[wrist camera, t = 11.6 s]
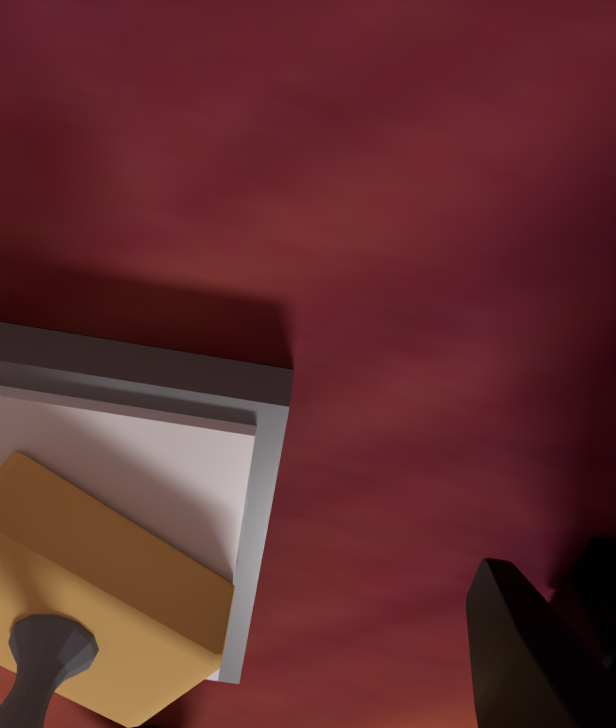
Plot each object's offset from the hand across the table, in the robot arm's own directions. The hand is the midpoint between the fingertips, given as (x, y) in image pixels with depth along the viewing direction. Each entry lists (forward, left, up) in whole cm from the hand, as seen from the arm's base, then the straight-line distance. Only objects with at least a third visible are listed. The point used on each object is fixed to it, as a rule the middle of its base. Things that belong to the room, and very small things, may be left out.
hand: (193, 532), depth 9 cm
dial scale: (+5, +12, -13) cm, 18 cm away
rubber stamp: (+5, +12, -10) cm, 16 cm away
